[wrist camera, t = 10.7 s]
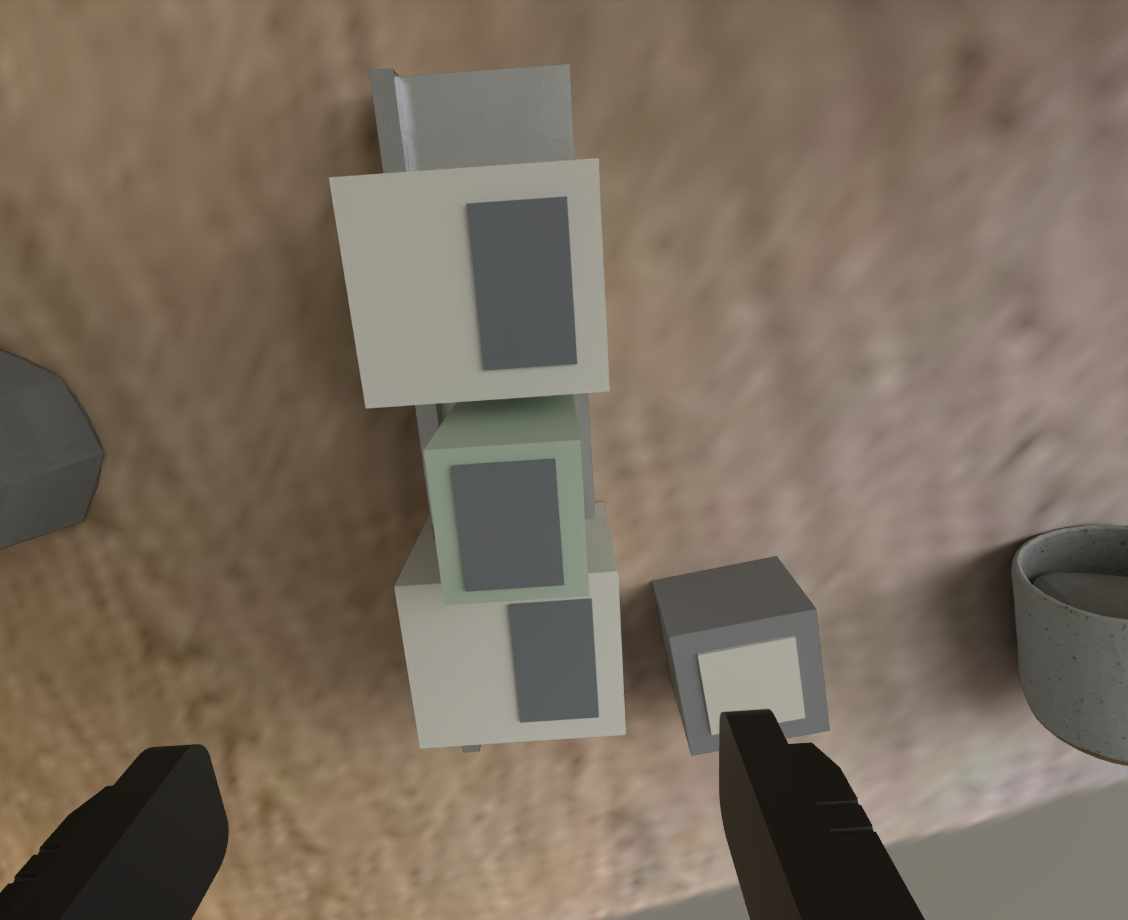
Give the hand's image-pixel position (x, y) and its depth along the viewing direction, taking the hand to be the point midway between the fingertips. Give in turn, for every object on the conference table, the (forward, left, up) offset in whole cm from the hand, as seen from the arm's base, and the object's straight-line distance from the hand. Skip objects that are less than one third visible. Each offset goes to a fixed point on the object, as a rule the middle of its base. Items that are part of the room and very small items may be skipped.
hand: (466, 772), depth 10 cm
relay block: (-9, +10, -20) cm, 24 cm away
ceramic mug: (-27, +10, -20) cm, 35 cm away
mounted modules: (+1, 0, -20) cm, 20 cm away
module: (0, 0, -18) cm, 18 cm away
